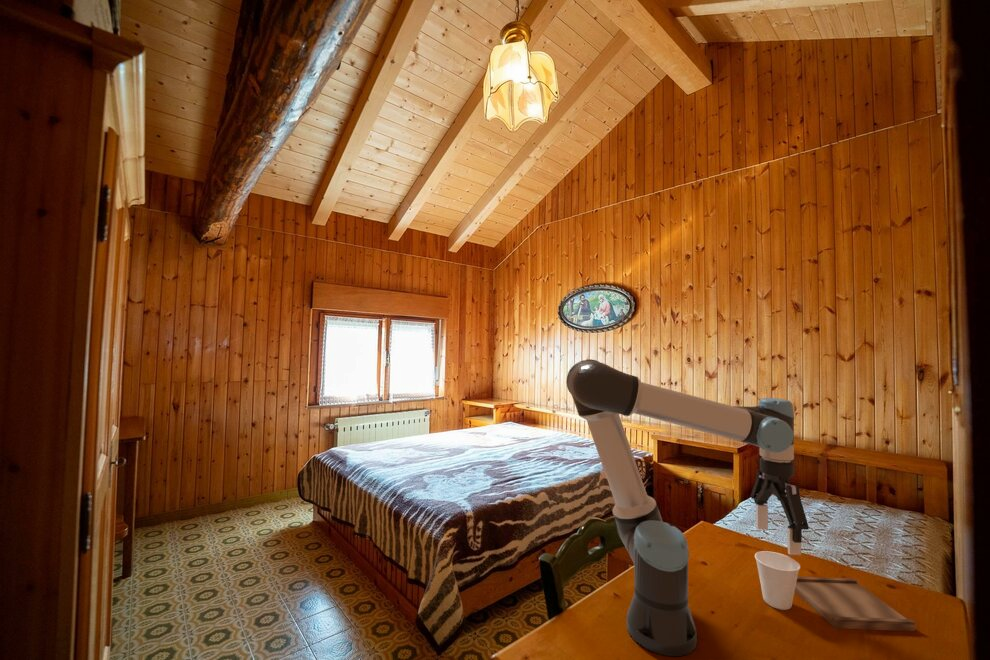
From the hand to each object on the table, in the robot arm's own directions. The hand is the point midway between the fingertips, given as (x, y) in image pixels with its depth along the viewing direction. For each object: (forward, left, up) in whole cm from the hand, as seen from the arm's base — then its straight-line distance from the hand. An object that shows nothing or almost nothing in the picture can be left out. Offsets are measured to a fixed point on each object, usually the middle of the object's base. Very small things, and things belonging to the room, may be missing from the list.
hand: (777, 540), depth 110 cm
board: (+17, 0, -16) cm, 23 cm away
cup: (0, 0, -16) cm, 16 cm away
